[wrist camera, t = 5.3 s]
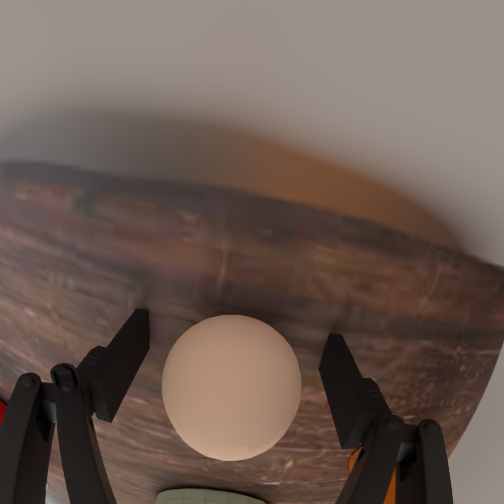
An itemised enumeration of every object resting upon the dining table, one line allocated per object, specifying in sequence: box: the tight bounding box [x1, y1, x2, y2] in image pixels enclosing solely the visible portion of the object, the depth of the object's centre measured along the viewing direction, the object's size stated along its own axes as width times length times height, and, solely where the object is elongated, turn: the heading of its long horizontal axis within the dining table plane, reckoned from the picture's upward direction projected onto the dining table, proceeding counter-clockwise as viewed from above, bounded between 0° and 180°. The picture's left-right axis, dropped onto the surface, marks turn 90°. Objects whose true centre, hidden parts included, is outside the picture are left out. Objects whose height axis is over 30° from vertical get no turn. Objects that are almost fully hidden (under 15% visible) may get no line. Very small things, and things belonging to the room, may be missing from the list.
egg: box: [161, 315, 302, 461], centre depth 12 cm, size 7×7×8 cm
